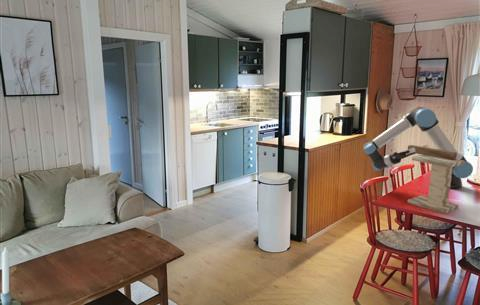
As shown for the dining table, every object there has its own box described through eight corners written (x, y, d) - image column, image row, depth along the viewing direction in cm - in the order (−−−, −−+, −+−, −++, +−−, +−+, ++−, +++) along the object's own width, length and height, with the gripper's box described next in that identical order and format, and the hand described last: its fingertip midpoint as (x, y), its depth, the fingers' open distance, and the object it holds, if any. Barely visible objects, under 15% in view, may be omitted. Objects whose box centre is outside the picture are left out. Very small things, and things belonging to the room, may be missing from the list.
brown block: (411, 151, 233) (411, 144, 232) (456, 159, 210) (457, 152, 210) (407, 151, 231) (408, 145, 230) (452, 160, 208) (453, 153, 207)
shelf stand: (421, 197, 232) (427, 153, 225) (457, 208, 214) (464, 160, 208) (407, 202, 223) (412, 156, 217) (443, 213, 205) (450, 163, 199)
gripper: (405, 161, 248) (434, 151, 231) (383, 166, 235) (411, 156, 218) (401, 151, 250) (429, 140, 233) (379, 156, 237) (406, 144, 219)
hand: (420, 148), depth 225 cm, fingers open, 13 cm apart
